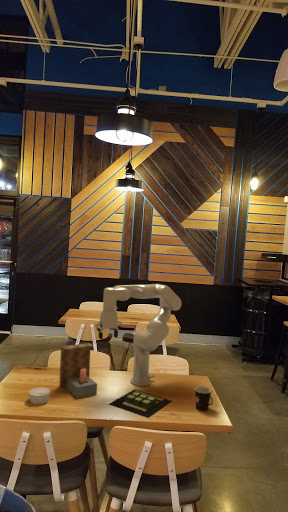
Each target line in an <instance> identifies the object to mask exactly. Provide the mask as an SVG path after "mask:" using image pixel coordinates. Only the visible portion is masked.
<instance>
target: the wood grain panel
mask: <svg viewBox="0 0 288 512" xmlns="http://www.w3.org/2000/svg"><path fill="white" fill-rule="evenodd" d="M91 350H94V345H93V344H92V343H89V342H86V343H79V344H71V345H69V344H68V345H62V346H60V359H59V360H60V361H59V385H58V386H59V388H61V389H63V388H67V386H68V379H69V378H75V377H80V372H81V369H86V376H88V377H89V378H90V365H91V364H90V363H91Z"/></svg>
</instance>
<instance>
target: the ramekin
mask: <svg viewBox="0 0 288 512" xmlns="http://www.w3.org/2000/svg"><path fill="white" fill-rule="evenodd" d="M50 394H51V389H50V388H48V387H45V386H37V387H33V388H31V389H30V390H28V397H29V402H30V403H31V404H34V405H43V404H45V403H47V402H49V400H50Z"/></svg>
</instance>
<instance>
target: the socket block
mask: <svg viewBox="0 0 288 512" xmlns="http://www.w3.org/2000/svg"><path fill="white" fill-rule="evenodd" d="M66 388H67V391H69V392H70V393H71V394H72V395H73V396H74V397H75V398H76V399H78V398H85V397H88V396H89V397H90V396H94V395H97V393H98V389H97V388H98V383H97V382H95V380H93V379H92V378H90V376H89V377H88V376H86V383H83V384H80V377H75V378H69V379H68V386H67V387H66Z"/></svg>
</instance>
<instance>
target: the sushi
mask: <svg viewBox="0 0 288 512" xmlns="http://www.w3.org/2000/svg"><path fill="white" fill-rule="evenodd" d="M171 402H172V400H170V399H168V398H164V397H161V396H157V395H154V394H152V393H149V392H145V391H142V390H138V389H133V390H131V391H129V392H127V393H125V394H124V395H122V396H120V397H118V398H116V399H115V400H113V401H110V402H109V403H108V405H109V406H112V407H115V408H118V409H121V410H124V411H126V412H130V413H133V414H135V415H139V416H141V417H144V418H147V419H149V418H150V417H152V416H154V414H156V413H157V412H159V411H160V410H162V409H163V408H165V407H166V406H168V404H170V403H171ZM126 403H127V404H126ZM128 404H130V405H128ZM131 405H133V406H131ZM134 406H137V407H138V408H136V407H134ZM139 407H140V408H142V409H140V408H139ZM143 409H146V410H143Z"/></svg>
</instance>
